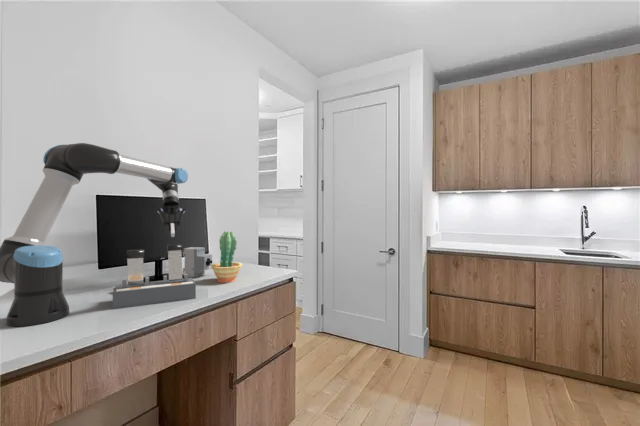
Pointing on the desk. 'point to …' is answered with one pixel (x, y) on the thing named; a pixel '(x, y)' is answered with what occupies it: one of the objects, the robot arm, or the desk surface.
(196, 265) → the circuit breaker
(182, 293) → the switch base
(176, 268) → the right lever
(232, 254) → the potted cactus
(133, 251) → the left lever
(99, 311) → the desk surface
